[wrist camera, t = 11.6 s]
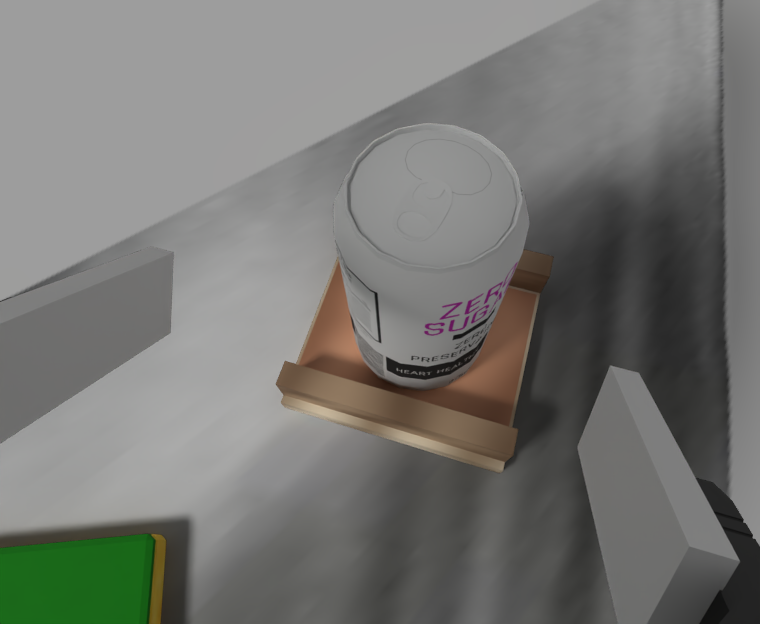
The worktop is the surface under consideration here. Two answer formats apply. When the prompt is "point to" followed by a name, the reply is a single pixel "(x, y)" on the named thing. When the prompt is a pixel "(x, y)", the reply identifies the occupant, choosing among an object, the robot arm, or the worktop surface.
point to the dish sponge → (84, 581)
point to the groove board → (412, 407)
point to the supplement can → (427, 249)
